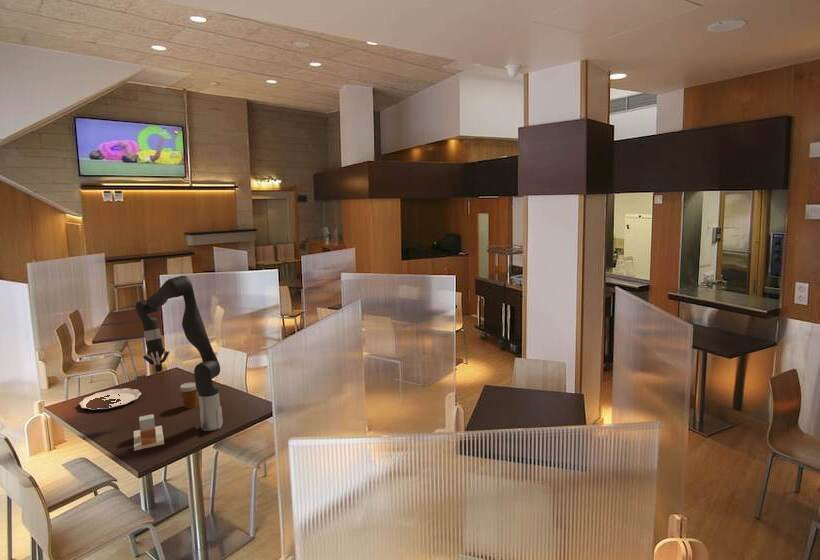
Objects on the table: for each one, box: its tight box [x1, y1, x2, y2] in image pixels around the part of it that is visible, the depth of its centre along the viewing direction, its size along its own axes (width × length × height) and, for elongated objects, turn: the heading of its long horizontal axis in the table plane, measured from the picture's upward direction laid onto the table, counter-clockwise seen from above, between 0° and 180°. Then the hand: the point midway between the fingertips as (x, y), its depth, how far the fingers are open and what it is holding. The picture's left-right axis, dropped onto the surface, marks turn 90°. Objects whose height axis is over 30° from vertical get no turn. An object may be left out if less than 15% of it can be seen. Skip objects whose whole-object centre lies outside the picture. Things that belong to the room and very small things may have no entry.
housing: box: [133, 425, 165, 451], centre depth 237 cm, size 22×12×2 cm, turn 28°
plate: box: [78, 387, 142, 411], centre depth 285 cm, size 29×29×2 cm
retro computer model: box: [138, 413, 156, 431], centre depth 238 cm, size 6×6×9 cm
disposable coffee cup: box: [179, 381, 199, 409], centre depth 275 cm, size 10×10×12 cm
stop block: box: [140, 428, 156, 445], centre depth 231 cm, size 2×6×6 cm, turn 118°
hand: (159, 371), depth 263 cm, fingers closed
